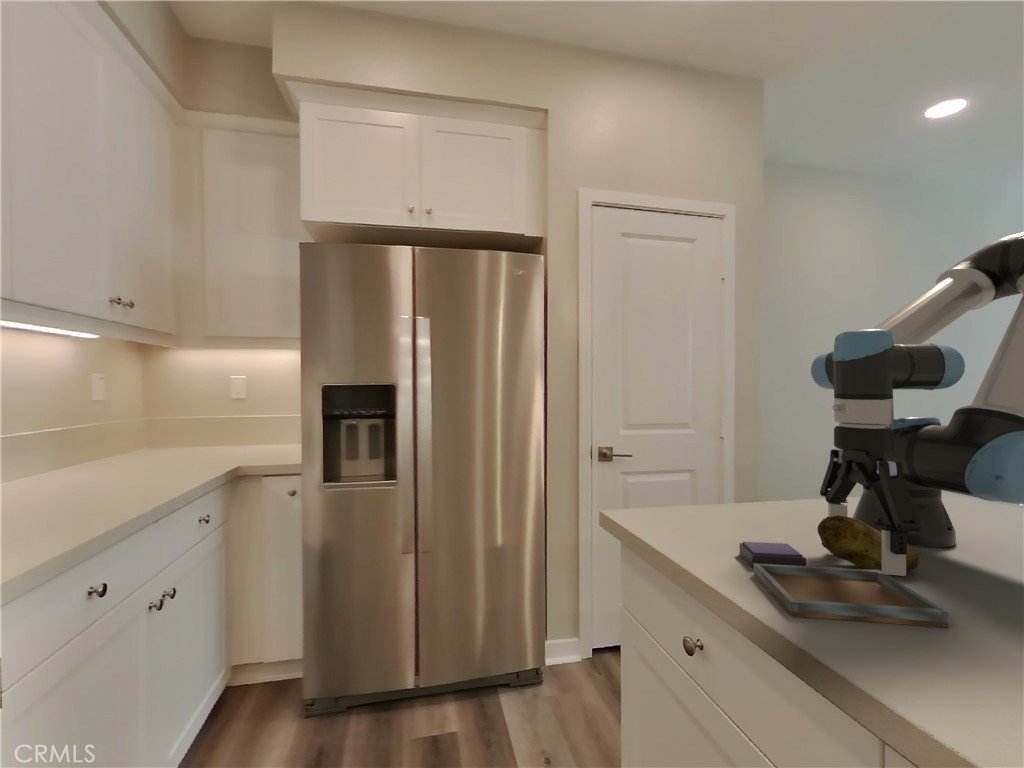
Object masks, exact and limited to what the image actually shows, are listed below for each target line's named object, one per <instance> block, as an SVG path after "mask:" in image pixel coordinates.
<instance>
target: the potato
mask: <svg viewBox="0 0 1024 768" xmlns="http://www.w3.org/2000/svg"><path fill="white" fill-rule="evenodd" d="M817 533H818V536H819V539H820V540H821V545H822V546H823V548H825V549H827V550H828V552H829V553H830V554H831V555H833V556H834V557H836V558H839V559H841V560H844V561H847V562H849V563H852V564H854V566H857V568H859V569H870V570H880V571H882V532H880V531H878V530H876V529H874V528H872V527H870V526H869V525H867V524H866V523H864V522H862V521H860V520H857V519H855V518H853V517H850V516H847V517H846V516H840V515H837V516H832V517H828V516H826V517H825V518H823V519H822V520H821V521H820V522H819V524H818V525H817ZM919 560H920V556H919V552H918V551H917V550H916V549H915V547H913V545H909V544H907V553H906V573H909V572H912V571H914V570H915V569H917V568H918V565H919V563H920V561H919Z"/></svg>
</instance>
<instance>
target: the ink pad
mask: <svg viewBox="0 0 1024 768" xmlns="http://www.w3.org/2000/svg"><path fill="white" fill-rule="evenodd" d="M739 555H740V557H742V559H743V560H744V561H745V562H746V563H747V564H748V565H749V566H750V567H751V568H752V569H754V567H753V563H756V564H775V565H794V566H807V558H806V557H805V556H804V555H803V554H802V553H800V552H799V551H798V550H797V549H796V548H794V547H792V546H791V544H788V543H783V542H780V543H779V542H759V541H758V542H756V541H742V542H740V543H739Z"/></svg>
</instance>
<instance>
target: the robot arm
mask: <svg viewBox="0 0 1024 768" xmlns="http://www.w3.org/2000/svg"><path fill="white" fill-rule="evenodd" d="M1020 294H1021V295H1022V297H1021V298H1020V301H1019V303H1018V305H1017V307H1016V309H1015V311H1014V314H1013V316H1012V318H1011V320H1010V323H1009V324H1008V327H1007V329H1006V331H1005V333H1004V335H1003V337H1002V338H1001V341H1000V343H999V344H998V347H997V349H996V351H995V353H994V355H993V358H992V359H991V362H990V364H989V366H988V368H987V370H986V373H985V374H984V377H983V379H982V381H981V383H980V385H979V387H978V390H977V392H976V393H975V395H974V397H973V400H972V402H971V404H968V405H964V406H961V407H958V408H956V409H955V411H954V412H953V415H952V416H951V419H950V421H949V423H948V424H947V425H942V423H941V421H940V419H939V418H938V417H935V416H919V417H918V416H917V417H916V416H914V417H895V418H894V416H895V415H894V390H924V391H934V390H943V389H947V388H950V387H953V386H955V385H956V384H957V383H958V382H959V381H960V380H961V379H962V378H963V376H964V373H965V370H966V369H965V367H966V365H965V364H966V363H965V359H964V357H963V355H962V353H961V352H960V351H958V350H957V349H956V348H954V347H952V346H949V345H944V344H935V343H932V342H931V343H925V342H927V341H928V340H929V339H931V338H932V337H933V336H935V335H936V334H938V333H939V332H940V331H942V330H943V329H945V328H946V327H948V326H949V325H951V324H952V323H953V322H955V321H956V320H957V319H959V318H961V317H962V316H963V315H965V314H967V313H968V312H969V311H976V310H978V309H981V308H984V307H986V306H987V305H989V304H990V303H991V302H994V301H996V300H999V299H1002V298H1008V297H1010V296H1016V295H1020ZM923 343H924V344H923ZM810 375H811V378H812V380H813V381H814V383H815V384H816V385H817V386H818V387H820V388H823V389H825V390H833V398H834V400H833V401H834V403H833V406H832V407H831V408H832V410H833V411H834V412H833V413H834V415H833V418H834V422H835V423H837V424H838V425H835V426H834V427H833V446H834V447H835V448H836V449H831V450H830V453H829V454H830V455H829V463H828V466H827V468H826V472H825V475H824V477H823V481H822V484H821V487H820V490H819V494H820V496H821V497H824V498H825V501H826V503H827V517H832V516H837V515H840V516H846V517H848V504H849V502H848V500H847V498H848V496H849V495H850V494H851V493H852V491H853V489H854V488H855V487H856V485H857V483H858V484H859V485H862V493H861V495H860V498H859V500H858V504H857V506H856V508H855V510H854V513H853V516H852V518H855V519H857V520H860V521H862V522H864V523H866V524H867V525H869V526H870V527H872V528H874V529H876V530H878V531H880V532H882V573H884V574H886V575H889V576H903V577H904V576H905V577H906V576H907V572H906V553H907V544H909V545H910V546H912V547H913V546H914V547H924V548H947V547H948V548H949V547H953V546H955V545H956V543H957V538H956V537H957V536H956V534H957V533H956V530H955V527H954V525H953V523H952V521H951V518H950V516H949V513H948V511H947V509H946V507H945V504H944V502H943V500H942V491H945V492H950V493H953V494H958V495H959V494H960V495H965V496H970V497H974V498H977V499H980V500H983V501H987V502H999V503H1000V502H1001V503H1007V504H1012V505H1014V504H1015V505H1023V504H1024V231H1022V232H1018V233H1015V234H1014V233H1013V234H1011V235H1007V236H1005V237H1002V238H1000V239H997V240H996V241H994V242H991V243H990V244H987V245H985V246H983V247H982V248H979V249H978V250H977V251H975V252H973V253H972V254H969V255H968V256H967V257H965V258H964V259H961V260H960V261H959V262H958V263H956V264H954V265H952V266H951V267H950V268H948V269H946V271H944V272H943V273H940V275H939V276H938V277H937V279H936V280H935V283H934V285H933V286H932V287H930V288H929V289H927V290H926V291H925V292H923V293H922V294H920V295H919V296H917V297H915V298H914V299H912V300H911V301H910V302H909V303H907V304H906V305H903V307H901V308H900V309H898V310H897V311H896V312H894V313H892V314H891V315H890V316H888V317H887V318H885V319H884V320H882V321H881V322H879V323H878V324H877V325H875V326H874V327H872V328H870V329H869V328H868V329H858V330H857V329H856V330H848V331H847V330H846V331H842V332H840V333H838V334H837V335H836V336H835V338H834V345H833V351H829V352H826V353H822V354H820V355H818V356H817V357H816V358H815V359H813V361H812V364H811V367H810Z"/></svg>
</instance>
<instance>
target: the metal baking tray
mask: <svg viewBox="0 0 1024 768" xmlns="http://www.w3.org/2000/svg"><path fill="white" fill-rule="evenodd" d="M753 567H754V568H753V576H754V577H755V578H756V579H757V580H758V581H759V583H760V584H761V585H763V587H764V588H765V590H767V591H768V592H769V594H770V595H771V596H772V597H773V598H774V599H775V600H776V601H777V602H778V603H779V605H780V606H781V607H782V608H783V609H784V610H785V611H786V612H787V613H788V615H790V617H795V618H797V617H798V618H811V619H812V618H813V619H824V620H839V621H840V620H841V621H852V622H853V621H855V622H870V623H883V624H896V625H897V624H898V625H910V626H911V625H912V626H924V627H926V626H927V627H938V628H939V627H940V628H941V627H942V628H950V613H949V611H947V609H944V608H942V607H941V606H939V605H938V604H936V603H934V602H933V601H931V600H929V599H927V598H926V597H925V596H922V595H921V594H920V593H918V592H916V591H915V590H913V589H911V588H910V587H908V586H906V585H905V584H903V583H901V582H900V581H898V580H897V579H895V578H894V577H892V576H891V575H886V574H884V573H882V571H880V570H870V569H862V568H848V567H830V566H829V567H828V566H826V567H825V566H811V565H806V566H794V565H775V564H756V563H753Z"/></svg>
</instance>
